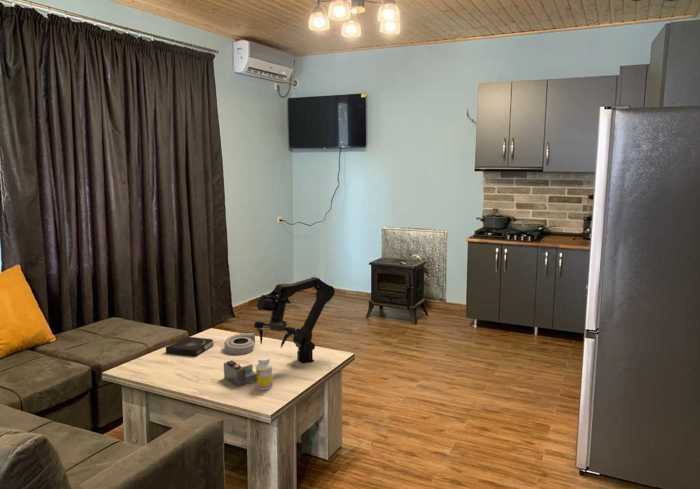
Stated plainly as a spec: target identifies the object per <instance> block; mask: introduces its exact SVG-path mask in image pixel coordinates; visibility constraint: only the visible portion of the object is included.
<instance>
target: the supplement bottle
mask: <svg viewBox="0 0 700 489" xmlns="http://www.w3.org/2000/svg"><path fill="white" fill-rule="evenodd" d="M255 370H256V372H255V373H256V378H257V381H256V389H259V390H263V391H266V390H270V389H271V388H273V364H272V363H271V362H270V357H269V356H264V355H263V356H260V357H258V360H257V364H256V367H255Z"/></svg>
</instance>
